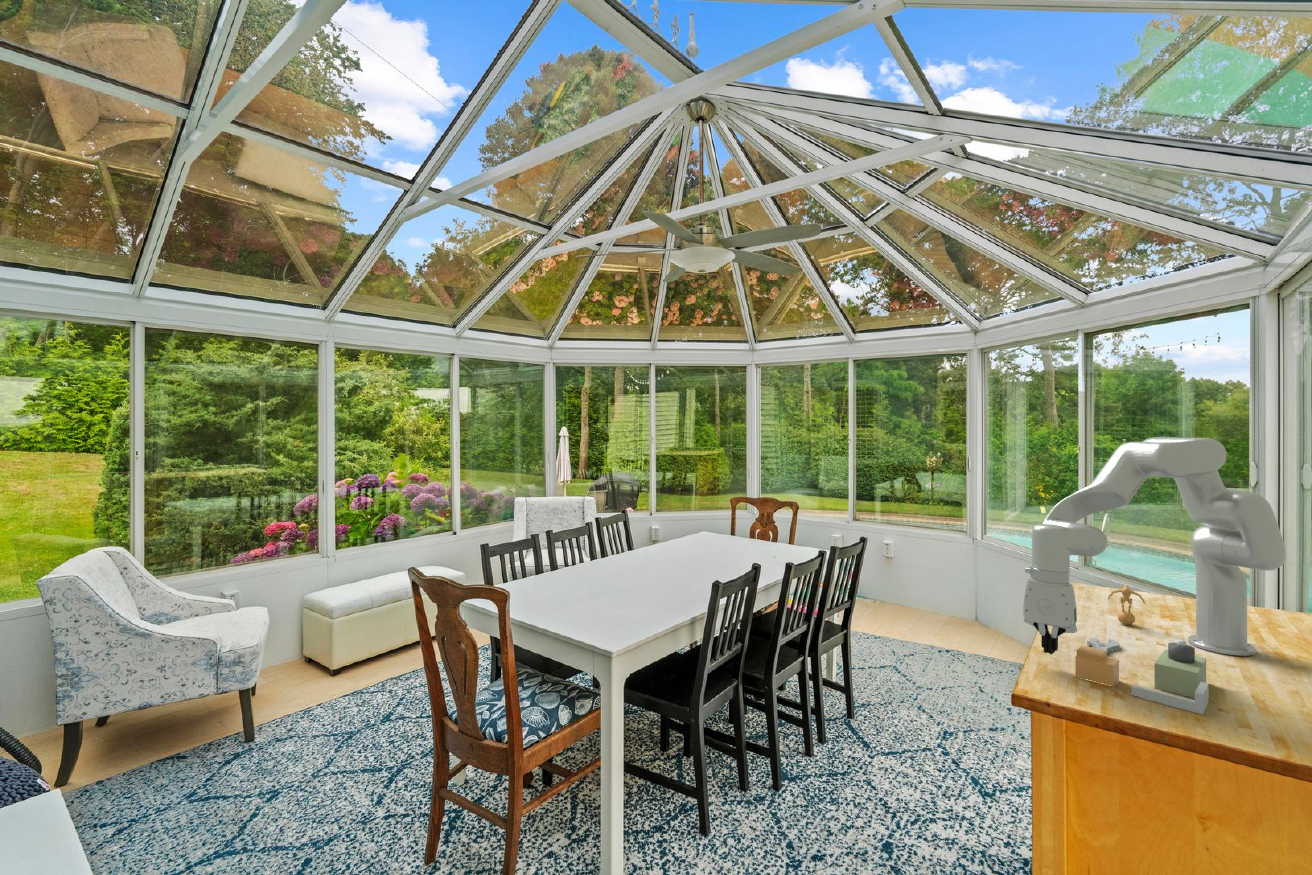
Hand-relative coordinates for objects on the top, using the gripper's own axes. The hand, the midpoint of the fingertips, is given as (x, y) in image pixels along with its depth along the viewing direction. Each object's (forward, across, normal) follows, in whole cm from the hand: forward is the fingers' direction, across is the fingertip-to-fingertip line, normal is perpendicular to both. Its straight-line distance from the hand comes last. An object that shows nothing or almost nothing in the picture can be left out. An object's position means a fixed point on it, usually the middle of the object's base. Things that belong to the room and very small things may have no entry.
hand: (1049, 651), depth 139 cm
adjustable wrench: (+4, +6, +17) cm, 18 cm away
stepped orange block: (+4, +9, 0) cm, 10 cm away
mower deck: (+3, +22, +6) cm, 23 cm away
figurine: (+3, +5, +50) cm, 50 cm away
